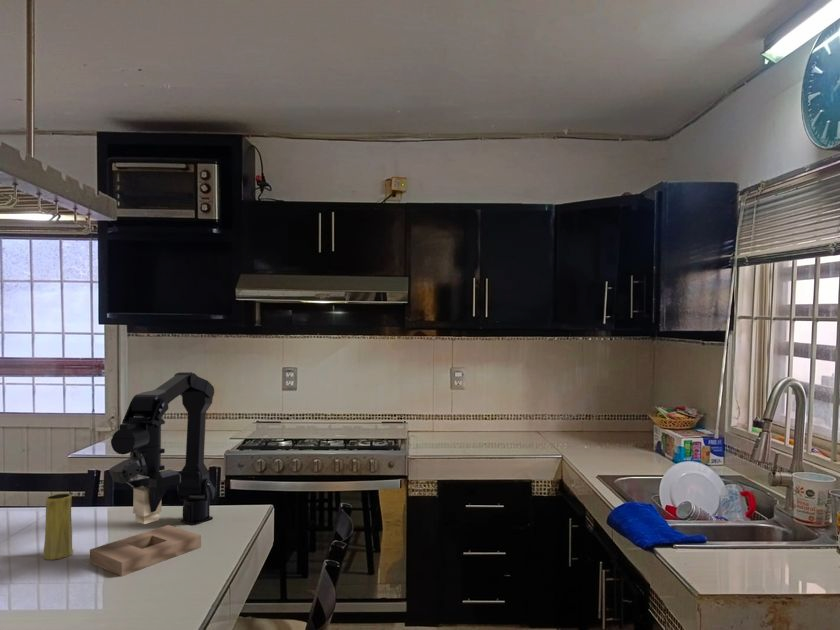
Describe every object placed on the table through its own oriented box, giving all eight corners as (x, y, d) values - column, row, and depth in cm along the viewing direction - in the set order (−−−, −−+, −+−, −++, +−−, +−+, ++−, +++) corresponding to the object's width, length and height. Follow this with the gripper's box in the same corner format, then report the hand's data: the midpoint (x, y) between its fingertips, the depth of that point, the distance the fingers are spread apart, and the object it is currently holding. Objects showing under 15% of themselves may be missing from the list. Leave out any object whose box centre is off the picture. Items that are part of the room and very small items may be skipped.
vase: (62, 560, 134) (63, 499, 134) (37, 560, 134) (37, 499, 134) (78, 550, 140) (79, 492, 140) (53, 550, 140) (54, 492, 140)
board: (168, 536, 149) (168, 524, 149) (200, 547, 141) (201, 535, 141) (89, 562, 132) (89, 549, 132) (121, 576, 124) (121, 562, 125)
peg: (150, 516, 140) (151, 484, 140) (161, 519, 138) (161, 486, 138) (133, 521, 136) (133, 488, 137) (143, 524, 134) (143, 491, 134)
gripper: (94, 447, 136) (93, 512, 136) (137, 456, 126) (136, 526, 125) (139, 439, 145) (138, 500, 145) (182, 447, 135) (181, 513, 134)
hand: (147, 509), depth 137 cm, fingers closed on peg, 4 cm apart
